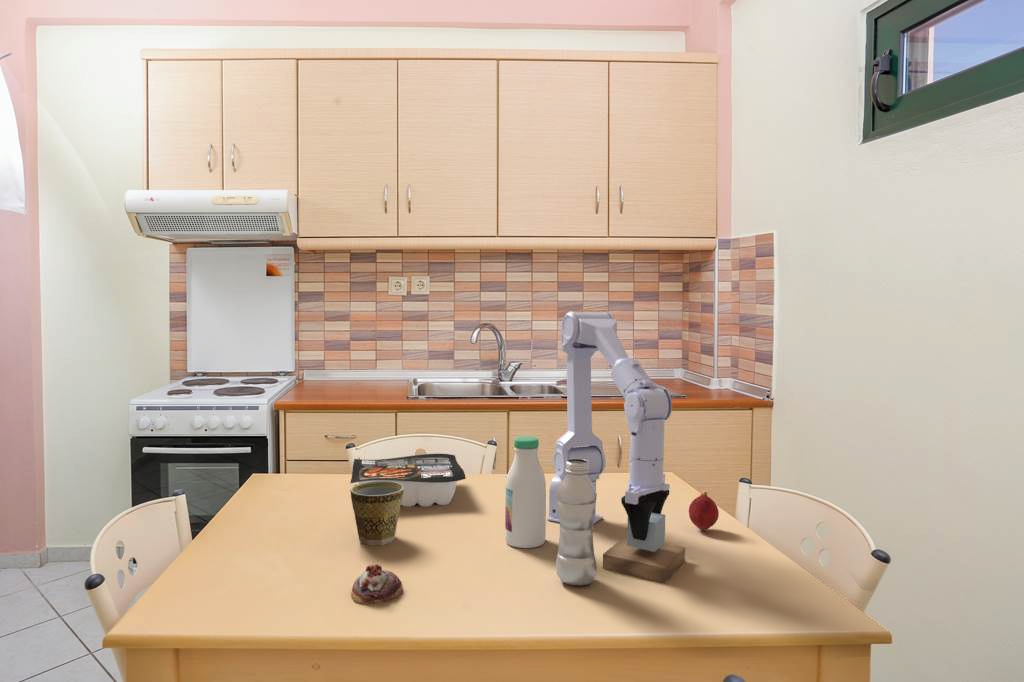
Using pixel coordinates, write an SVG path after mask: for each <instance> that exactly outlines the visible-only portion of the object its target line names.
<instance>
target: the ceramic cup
mask: <svg viewBox="0 0 1024 682" xmlns="http://www.w3.org/2000/svg"><path fill="white" fill-rule="evenodd" d="M403 490H404V487H403V485H401V484H399V483H396V482H389V481H373V482H366V483H361V484H359V483H358V484H354V485H353V486H352V487H351V488H350V490H349V491H350V499H351V505H352V509H353V513H354V520H355V525H356V530H357V537H358V540H359V542H361V543H362V544H365V545H366V546H384V545H387V544H390V543H393V541H394V539H395V537H396V533H397V527H398V526H397V525H398V520H399V516H400V515H399V513H400V509H401V506H402V505H401V502H402V497H403Z"/></svg>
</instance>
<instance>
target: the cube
mask: <svg viewBox="0 0 1024 682" xmlns="http://www.w3.org/2000/svg"><path fill="white" fill-rule="evenodd" d="M626 528H627V529H626V531H627V533H626V535H627V546H631V547H635V548H639V549H644V550H648V551H652V552H655V551H656V550H657V549H658V548H660V547H661V546H662V545H663V544H664V543H666V541H665V539H666V514H662V513H661V514H658V513H653V512H652V513H651V516H650V520H649V526H648V533H647V537H646V540H645V541H643V540H638V539H634V538H633V536H632V531H631V527H630V522H629V518H628V517H627V527H626Z"/></svg>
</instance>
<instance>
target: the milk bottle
mask: <svg viewBox="0 0 1024 682" xmlns="http://www.w3.org/2000/svg"><path fill="white" fill-rule="evenodd" d="M513 445H514V451H515V454H514V458H513V462H512V464H511V466H510V467H509V468H510V469H509V470H508V473H507V476H506V480H505V481H506V483H505V510H504V511H505V515H504V516H505V521H504V527H505V528H504V529H505V530H504V534H505V535H504V536H505V537H504V540H505V542H506V543H507V544H508V545H509V546H511V547H514V548H519V549H534V548H538V547H541V546H543V545H544V544H545V542H546V529H547V528H546V527H547V521H546V520H547V483H546V477H545V473H544V470H543V468H542V465H541V463H540V460H539V457H538V451H539V438H537V437H534V436H518V437H515V438H514V441H513Z"/></svg>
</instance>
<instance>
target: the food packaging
mask: <svg viewBox="0 0 1024 682" xmlns="http://www.w3.org/2000/svg"><path fill="white" fill-rule="evenodd" d="M465 479H467V477H466V474H465V470H464V469H463V468H462V467H461V465H460V464H459V463H458V461H457V458H456V455H455V454H451V453H450V454H449V453H426V454H425V453H424V454H416V455H408V456H401V457H391V458H381V459H380V458H379V459H360V458H354V459H353V464H352V472H351V479H350V484H355V483H358V484H361V483H366V482H373V481H389V482H396V483H399V484H401V485H403V487H404V490H403V497H402V502H401V506H402V507H414V506H415V505H417V504H418V505H419V506H421V507H430V506H432V505H434V504H437V505H439V506H440V505H441V506H443V505H449V504H450V503H451V501H452V499H453V498H454V495H455V492H456V489H457V483H458V481H463V480H465Z"/></svg>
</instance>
